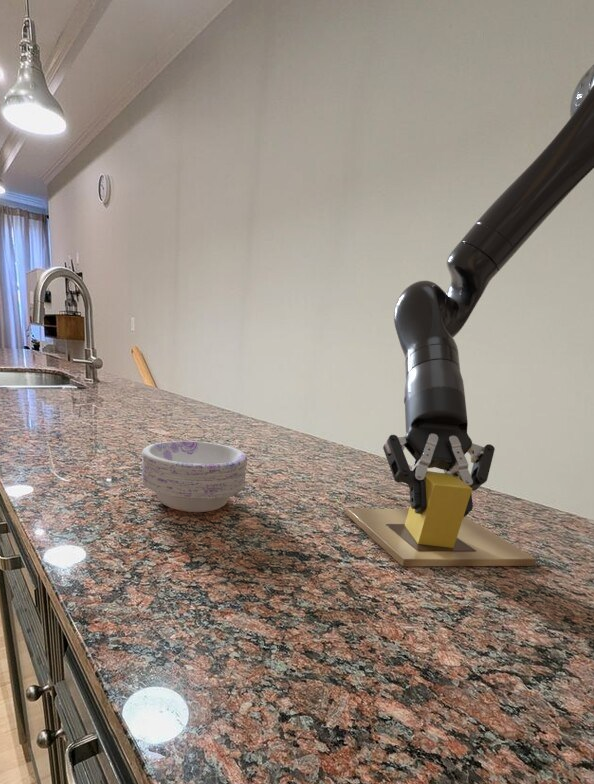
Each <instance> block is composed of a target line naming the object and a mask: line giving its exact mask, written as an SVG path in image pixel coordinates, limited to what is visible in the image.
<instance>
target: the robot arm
mask: <svg viewBox="0 0 594 784" xmlns="http://www.w3.org/2000/svg"><path fill="white" fill-rule="evenodd" d="M569 116H570V118H569V119H568V121H567V122H566V123H565V124H564V126H563V127H562V128H561V130H560V131H559V133H557V134H556V135H555V137H554V138H553V139H552V141H551V142H550V143H549V144H548V145H547V146H546V147H545V149H543V150H542V151H541V153H540V154H539V155H538V156H537V157H536V158H535V160H534V161H532V163H530V165H529V166H528V167H526V169H525V170H524V171H522V173H521V174H520V175H518V177H517V178H516V179H515V180H514V181H513V182H512V183H511V184H510V185H509V186H508V187H507V188H506V189H505V190H504V191H503V193H501V194H500V196H498V198H496V199H495V200H494V202H492V204H491V205H490V206H489V207H488V208H487V210H486V211H485V212H484V213H482V215H481V216H480V217H479V218H478V220H476V222H475V223H474V224H473V225H472V227H471V228H469V230H468V232H467V233H466V234H465V235H464V236H463V237H462V239H461V240H460V241H459V243H457V244H456V246H455V247H454V249H453V250H451V252H450V253H449V254H448V256H447V259H446V267H447V270H448V273H449V275H450V281H451V282H450V285H449V287H448V289H447V291H446V292H445V290H444V289H442V287H441V286H440V285H438V284H437V283H436V282H434V281H431V280H418V281H415V282H413V283H411V284H410V285H409V286H407V287H406V288H405V289H404V290H403V291H402V292H401V294H400V295H399V297H398V298H397V301H396V303H395V307H394V311H393V324H394V328H395V331H396V335H397V338H398V341H399V345H400V348H401V351H402V353H403V355H404V358H405V359H404V360H405V361H404V366H405V385H404V397H403V405H404V415H405V416H404V419H405V433H406V434H405V436H400V437H399V436H397V435H396V434H391V435H389V436H388V438H387V439H386V441H385V443H384V445H383V446H382V449H383V453H384V455H385V458H386V461H387V464H388V466H389V468H390V472H391V474H392V477H393V480H394V481H395V482H396V483H403V484H406V485H407V486H408V488H409V506H410V505H411V508H412V509H415V513H417V514H422V513H423V512H424V511H425V510H426V508H427V497H426V482H424V481H423V479H424V478H425V475H426V472H427V471H428V469H433V468H436V469H439V470H443V473H447V474H452V475H455V476H456V477H458V478H459V479H460V480H462V481H463V482H464V483H466V484H467V485H468V486H470V487H471V488H472V491H473V492H475V491H477V490H478V489H479V488H480V487H481V486H482V485H483V484H486V482H487V481H488V478H489V474H490V469H491V465H492V462H493V458H494V454H495V450H496V449H495V448H496V447H495V446H494V445H492V444H486V445H484V446H481V445H479V444H475V443H473V440H472V439H471V437H470V436H469V434H468V426H469V425H468V421H469V420H468V413H467V412H468V411H467V402H466V393H465V383H464V380H463V376H462V372H461V366H460V365H461V364H460V363H461V362H460V357H459V356H460V355H459V348H458V345H457V342H456V340H455V339H454V337H456V336H457V335H458V334H459V333H460V331H461V330H462V328H463V327H464V326H465V324H466V323H467V321H468V320H469V318H470V316H471V315H472V313H473V311H474V310H475V308H476V306H477V304H478V303H479V301H480V299H481V298H482V297H483V294H484V292H485V291H486V289H487V287H488V285H489V283H490V282H491V280H493V278H494V277H495V276H496V275H498V273H499V272H500V271H501V270H502V269H503V268H504V266H506V264H507V263H508V262H509V261H510V260H511V258H513V256H514V255H515V254H516V253H517V252H518V251H519V250H520V248H522V246H523V245H524V244H525V243H526V242H527V241H528V239H530V238H531V236H532V235H534V233H535V232H536V231H537V230H538V228H539V227H540V226H541V225H542V224H543V223H544V222H545V221H546V220H547V218H548V217H549V216H550V215H551V214H552V213H553V212H554V211H555V209H556V208H558V206H559V205H560V204H561V203H562V202H563V201H564V199H565V198H566V197H567V196H568V195H569V194H570V193H571V192H572V191H573V190H574V189H575V188H576V187H577V186H578V184H580V183H581V182H582V181H583V180H584V179H585V178H586V177H587V176H588V175H589V174H590V173H591V172H592V171H593V170H594V64H592V65H591V66H590V67H589V69H588V70H586V72H585V73H584V74H583V75H582V77H580V79H579V81H578V83H577V84H576V86H575V89H574V91H573V93H572V96H571V99H570V105H569ZM405 449H406V450H407V451H408V453H409V454H410V455H411V456H412V458H414V461H413V465H412V467H411V468H410V465H409V463H408V461H407V457H406V455H405V452H404V450H405ZM467 453H468V454H469V455H470V462H471V463H472V468H471V471H469V463H468V460H467V458H466V454H467ZM473 492H471V495H470V498H469V501H468V504H467V507H466V511H465V514H464V517H467V516H469V513H470V512H472V510H473V508H474V505H473V504H474V503H473V494H472V493H473ZM464 517H463V518H464Z"/></svg>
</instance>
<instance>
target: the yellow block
mask: <svg viewBox="0 0 594 784" xmlns="http://www.w3.org/2000/svg"><path fill="white" fill-rule="evenodd" d="M423 481H424V482H426V497H427V508H426V510H425V511H424V512H423V513H422V514H417V513H415V509H412V508H411V505H410V504H409V507H408V509H409V511H408V515H407V518H406V522H405V527H406V528H407V529H408V531H409V532H410V533H411V535H412V536H413V538H414V539H415V540H416V542H417V543H418V544H423V545H431V546H440V547H448V548H454V545H455V542H456V539H457V536H458V533H459V529H460V526H461V523H462V520H463V517H464V514H465V511H466V507H467V504H468V501H469V498H470V495H471V493H473V492H472V488H471V487H470V486H468V485H467V484H466V483H464V482H463V481H462V480H460V479H459V478H458V477H456V476H455V475H452V474H447V473H445V472H438V471H437V472H436V471H428V470H427V472H426V475H425V478H424V479H423Z"/></svg>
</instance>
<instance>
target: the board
mask: <svg viewBox="0 0 594 784" xmlns="http://www.w3.org/2000/svg"><path fill="white" fill-rule="evenodd" d="M408 511H409V508H355V507H354V508H353V507H352V508H351V507H347V508H346V513H345V514H346V516H347V517H348V518H350V520H351V521H353V522H354V523H355V524H356V525H357V526H358V527H359V528H360V529H361V530H362V531H364V533H365V534H367V535H368V536H369V538H371V539H372V540H373V541H374V542H375V543H376V544H377V545H378V546H379V547H381V548H382V549H383V550H384V551H385V552H386V553H387V554H388V555H389V556H391V558H393V559H394V560H395V561H396V562H397V563H398V564H399V565H400V566H401V567H534V566H535V565H536V563H537V560H538V559H537V558H536V557H534V556H532V555H531V554H529V552H528V553H527V552H526V551H525V550H523V549H521V548H520V547H518V546H516V545H514V544H512V543H511V542H509V541H507V540H506V539H505V538H503V537H501V536H499V535H497V534H496V533H494V532H492V531H491V530H489V529H488V528H485V527H484V526H482V525H481V524H478V523H477V522H475V521H474V520H472V519H470V518H469V517H467V516H465V517H464V518H463V520H462V523H461V526H460V529H459V533H458V536H457V539H456V542H455V545H454V548H448V547H440V546H431V545H423V544H418V543H417V542H416V540H415V539H414V538H413V536H412V535H411V533H410V532H409V531H408V529H407V528H406V527H405V522H406V518H407V515H408Z"/></svg>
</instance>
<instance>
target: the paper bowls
mask: <svg viewBox="0 0 594 784" xmlns="http://www.w3.org/2000/svg"><path fill="white" fill-rule="evenodd" d="M141 456H142V458H141V460H142V461H141V482H142V485H143V486H144V487H145V488H147V489H148V490H150V491H152V492H154V493H155V496H156V498H157V499H158V500H159V503H161V504H163V505H164V506H166V507H168V508H170V509H173V510H175V511H176V510H177V511H181V512H187V513H207V512H212V511H216V510H218V509H221V508H223V507H224V506H225V505H226V504H227V503H228V502H229V500H230V498H231V497H232V496H236V495H238V494H240V493H241V492H242V491H244V489H245V485H246V483H245V482H246V476H247V472H246V471H247V465H248V456H247V455H246V453H244V451H242V450H240V449H238V448H235V447H233V446H229V445H225V444H221V443H214V442H207V441H195V440H194V441H193V440H174V441H162V442H156V443H152V444H149V445H147V446H145V447H144V448H143V450H142V452H141Z"/></svg>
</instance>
